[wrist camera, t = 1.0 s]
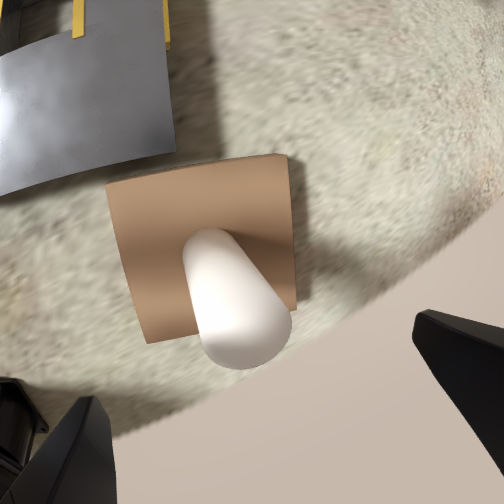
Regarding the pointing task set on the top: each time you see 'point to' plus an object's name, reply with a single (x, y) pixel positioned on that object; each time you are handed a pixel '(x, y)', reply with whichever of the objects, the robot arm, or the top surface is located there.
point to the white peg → (233, 302)
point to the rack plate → (84, 91)
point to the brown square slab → (192, 220)
